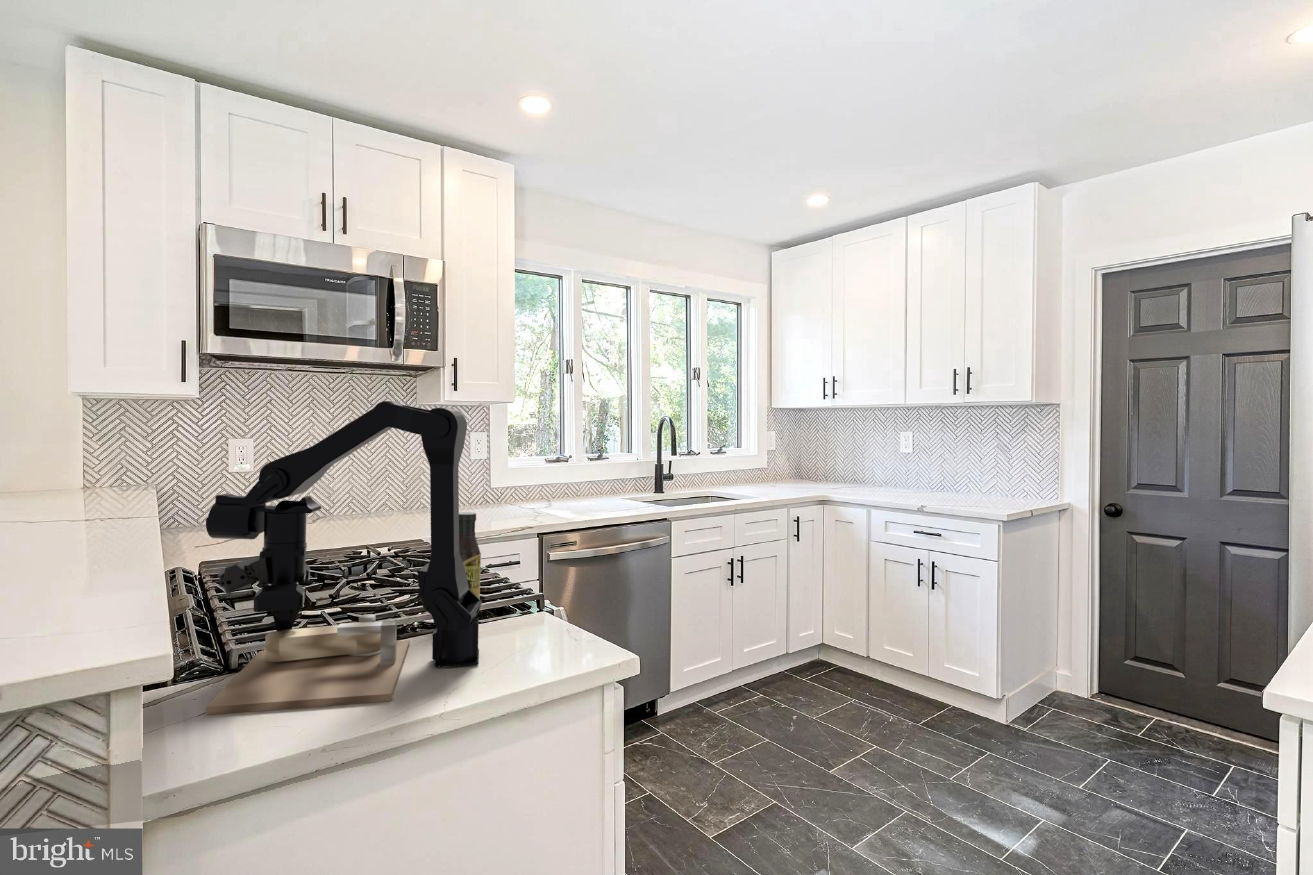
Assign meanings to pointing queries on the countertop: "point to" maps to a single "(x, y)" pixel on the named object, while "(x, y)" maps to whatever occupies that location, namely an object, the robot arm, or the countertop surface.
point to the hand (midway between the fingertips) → (283, 639)
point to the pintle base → (319, 676)
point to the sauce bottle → (470, 550)
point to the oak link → (316, 643)
